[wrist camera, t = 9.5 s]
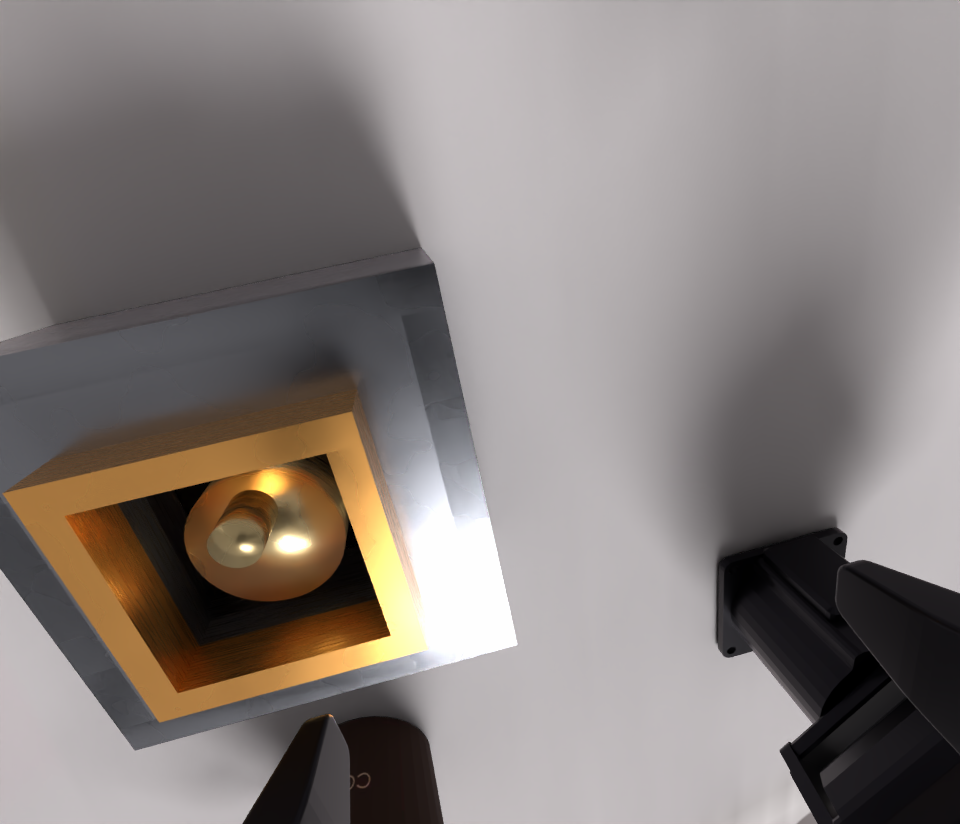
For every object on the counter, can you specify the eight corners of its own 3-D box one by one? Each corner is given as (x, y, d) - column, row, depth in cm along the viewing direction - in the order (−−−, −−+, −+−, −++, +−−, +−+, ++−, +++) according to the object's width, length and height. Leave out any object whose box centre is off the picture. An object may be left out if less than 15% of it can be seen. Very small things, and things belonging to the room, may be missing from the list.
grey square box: (485, 533, 21) (528, 685, 14) (206, 605, 20) (108, 805, 13) (421, 247, 16) (439, 269, 10) (53, 325, 16) (-221, 411, 9)
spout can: (372, 476, 19) (359, 620, 12) (271, 501, 19) (199, 662, 12) (343, 383, 18) (308, 488, 11) (232, 408, 17) (124, 532, 11)
